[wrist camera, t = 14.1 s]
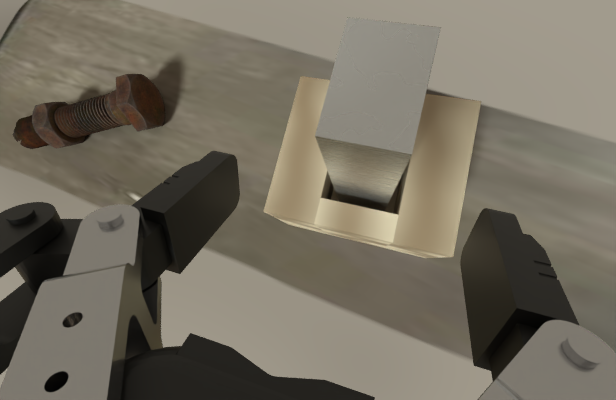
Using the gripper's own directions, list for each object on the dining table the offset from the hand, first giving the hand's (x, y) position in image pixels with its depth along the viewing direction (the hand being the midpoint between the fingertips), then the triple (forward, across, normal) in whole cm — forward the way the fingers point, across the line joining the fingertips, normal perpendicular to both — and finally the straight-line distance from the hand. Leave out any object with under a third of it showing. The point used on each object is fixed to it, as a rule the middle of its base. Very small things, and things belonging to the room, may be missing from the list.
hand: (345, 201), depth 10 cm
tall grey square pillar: (+14, 0, +7) cm, 15 cm away
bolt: (+16, +29, +9) cm, 35 cm away
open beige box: (+16, 0, +9) cm, 18 cm away
